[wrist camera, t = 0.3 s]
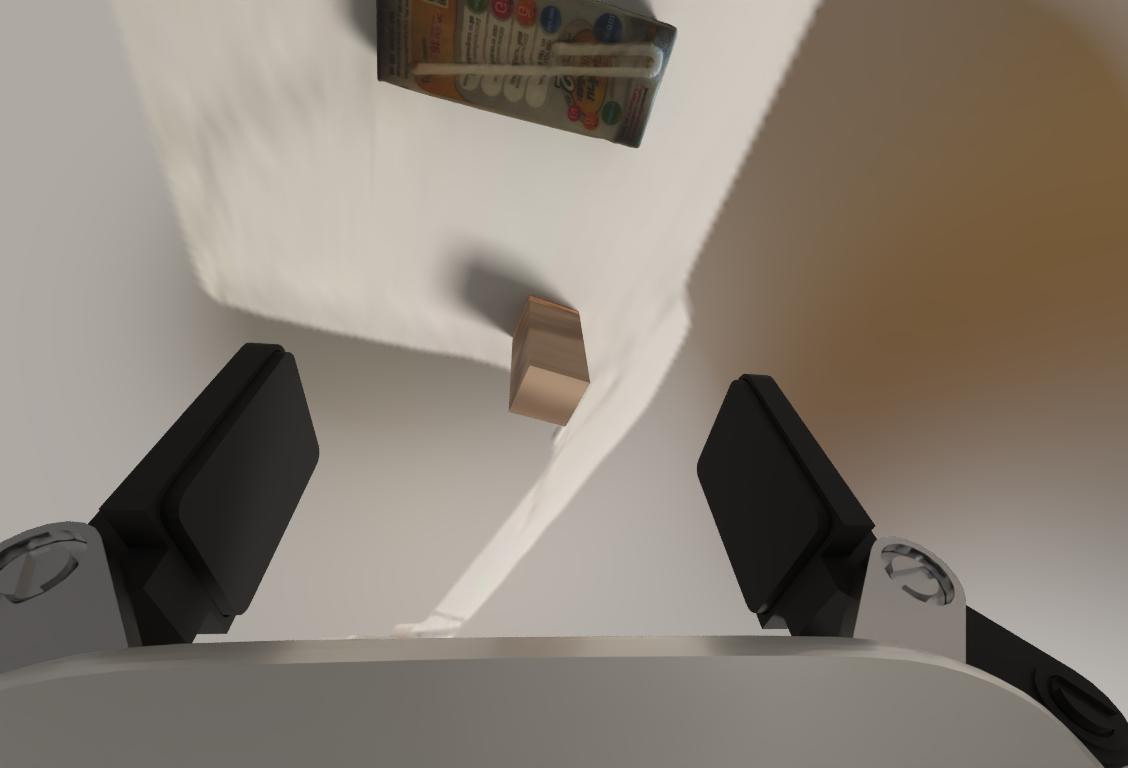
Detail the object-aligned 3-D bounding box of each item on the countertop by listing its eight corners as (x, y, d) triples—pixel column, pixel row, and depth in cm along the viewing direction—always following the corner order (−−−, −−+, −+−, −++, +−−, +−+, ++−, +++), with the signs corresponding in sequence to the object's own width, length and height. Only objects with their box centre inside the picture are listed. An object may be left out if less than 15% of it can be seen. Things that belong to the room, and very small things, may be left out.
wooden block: (529, 295, 48) (529, 365, 39) (578, 311, 49) (590, 382, 40) (512, 337, 51) (508, 411, 42) (559, 351, 52) (565, 426, 43)
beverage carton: (628, 137, 39) (642, 157, 34) (391, 73, 36) (367, 84, 31) (663, 21, 35) (685, 24, 29) (393, -67, 31) (365, -81, 26)
